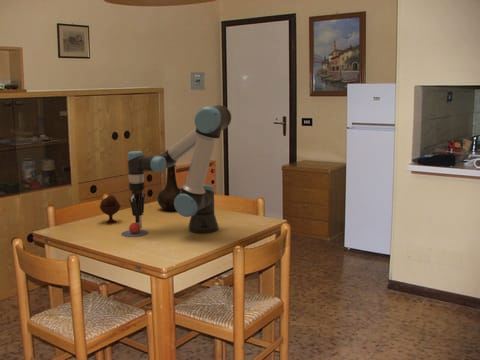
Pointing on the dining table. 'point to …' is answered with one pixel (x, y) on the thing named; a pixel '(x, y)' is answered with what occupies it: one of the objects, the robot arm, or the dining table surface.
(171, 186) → the dark brown vase
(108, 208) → the ice cream bowl
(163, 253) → the dining table surface
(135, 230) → the ball
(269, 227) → the dining table surface
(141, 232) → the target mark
